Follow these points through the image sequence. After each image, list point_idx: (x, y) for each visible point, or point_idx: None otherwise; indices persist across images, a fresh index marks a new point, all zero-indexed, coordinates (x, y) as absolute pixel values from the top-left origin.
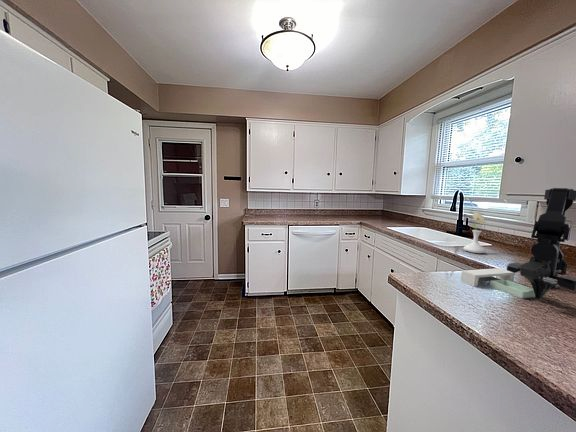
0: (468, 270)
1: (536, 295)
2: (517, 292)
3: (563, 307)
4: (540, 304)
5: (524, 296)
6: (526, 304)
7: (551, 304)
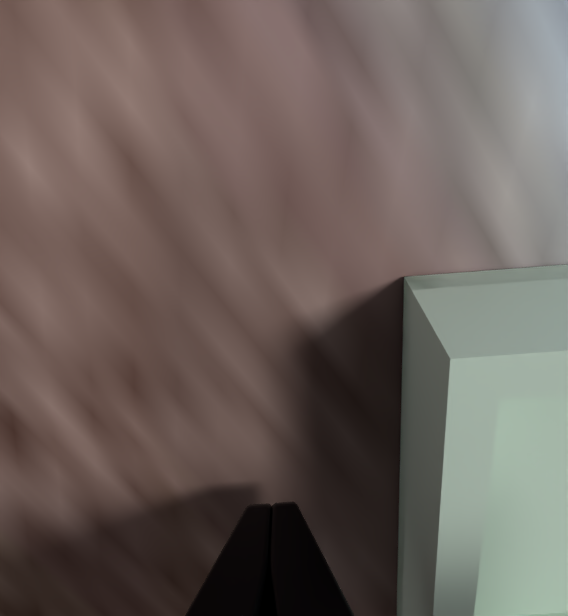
0: None
1: (289, 544)
2: (563, 317)
3: (29, 597)
4: (125, 368)
5: (412, 360)
6: (116, 5)
7: (128, 545)
